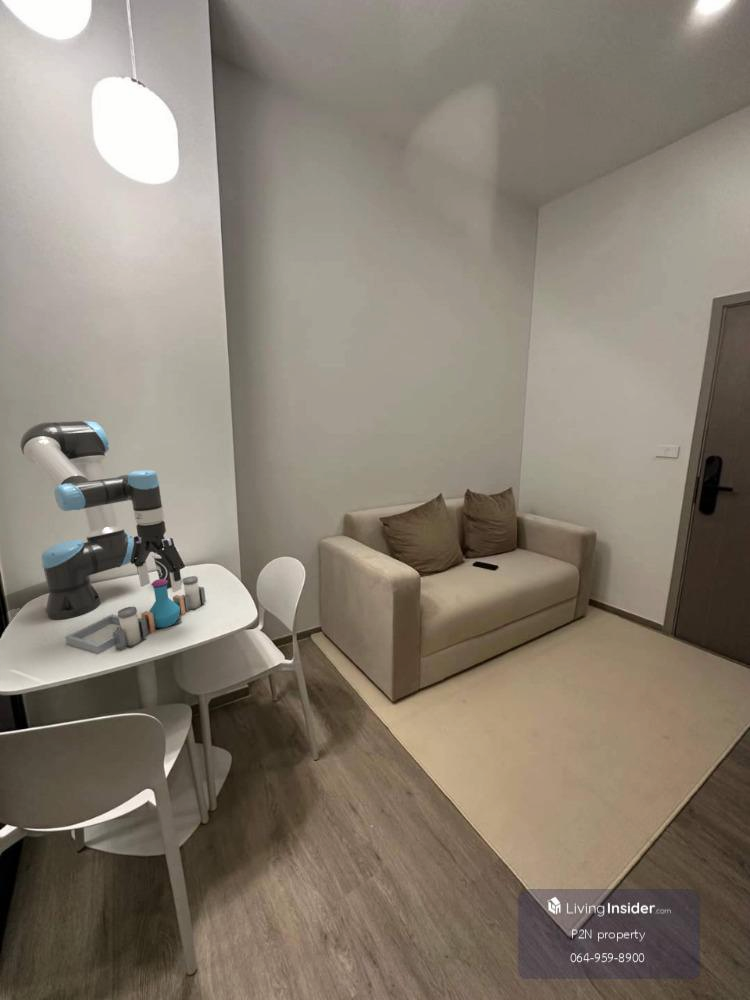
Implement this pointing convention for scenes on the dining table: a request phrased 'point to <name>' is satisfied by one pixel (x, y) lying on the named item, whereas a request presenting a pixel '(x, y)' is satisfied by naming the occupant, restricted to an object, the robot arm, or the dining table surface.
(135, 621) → the canister
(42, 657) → the dining table surface
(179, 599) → the clip rack
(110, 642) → the tray
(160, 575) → the coffee cup
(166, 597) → the perfume bottle
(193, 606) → the canister
